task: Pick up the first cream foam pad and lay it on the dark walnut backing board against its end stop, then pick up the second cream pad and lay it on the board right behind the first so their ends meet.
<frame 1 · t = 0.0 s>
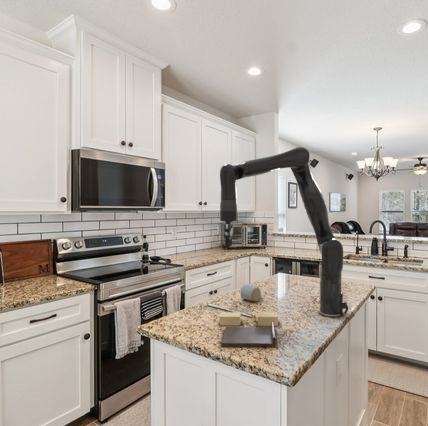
hand: (228, 246, 133), 29 cm above the countertop, tool pointing down, fingers open, 8 cm apart
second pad: (230, 323, 121), on the countertop
ceramic mug: (252, 300, 153), on the countertop
backing board: (249, 338, 107), on the countertop
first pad: (267, 323, 121), on the countertop
butter knife: (229, 310, 136), on the countertop
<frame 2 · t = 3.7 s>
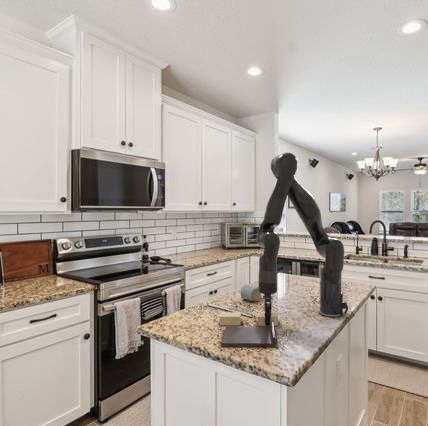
hand: (267, 322, 121), 0 cm above the countertop, tool pointing down, fingers closed on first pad, 5 cm apart
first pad: (267, 323, 121), on the countertop, touching gripper
everything else where it was.
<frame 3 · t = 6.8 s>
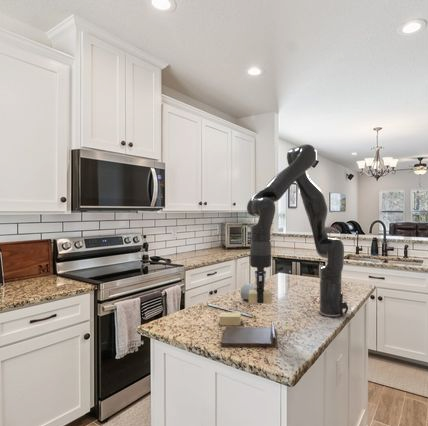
hand: (260, 300, 108), 13 cm above the countertop, tool pointing down, fingers closed on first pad, 5 cm apart
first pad: (260, 301, 108), point 13 cm above the countertop, touching gripper
everything else where it was.
when the fingers open (2 cm above the countertop, at t = 9.8 s): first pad stays where it is, resting on backing board.
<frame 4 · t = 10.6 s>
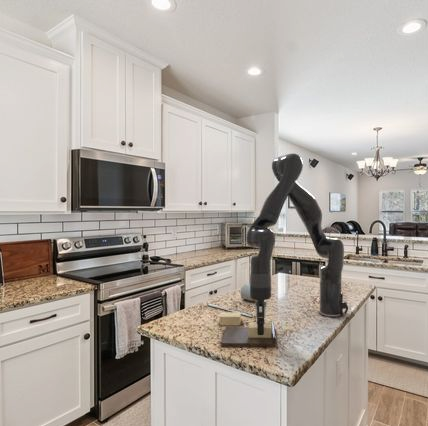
hand: (260, 329, 107), 3 cm above the countertop, tool pointing down, fingers open, 8 cm apart
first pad: (260, 334, 107), point 1 cm above the countertop, touching backing board
everything else where it was.
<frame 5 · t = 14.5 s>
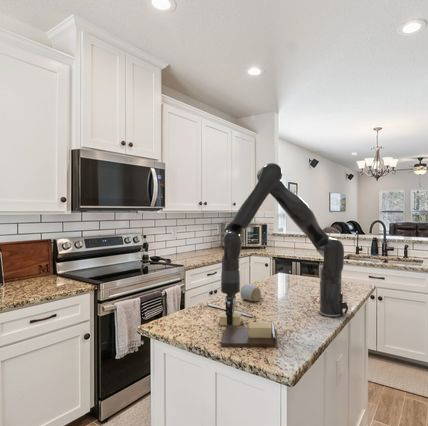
hand: (230, 322, 121), 0 cm above the countertop, tool pointing down, fingers closed on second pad, 5 cm apart
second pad: (230, 323, 121), on the countertop, touching gripper
everything else where it was.
when the fingers open (2 cm above the countertop, at t = 20.5 s): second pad stays where it is, resting on backing board.
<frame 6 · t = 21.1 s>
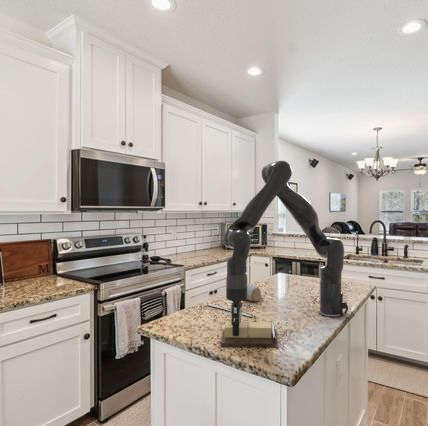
hand: (236, 330, 107), 3 cm above the countertop, tool pointing down, fingers open, 8 cm apart
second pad: (236, 334, 107), point 1 cm above the countertop, touching backing board
everything else where it was.
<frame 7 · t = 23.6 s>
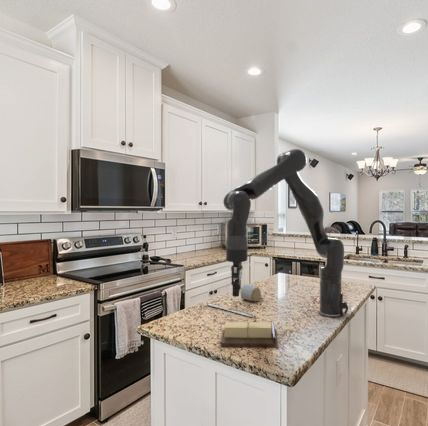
hand: (236, 292, 107), 16 cm above the countertop, tool pointing down, fingers open, 8 cm apart
nothing on the countertop moved.
at the end: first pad 0.4 cm from the target spot on the backing board, point 1.2 cm above the backing board's base; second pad 0.5 cm from the target spot on the backing board, point 1.2 cm above the backing board's base; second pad 8.4 cm from the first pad (horizontally) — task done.
